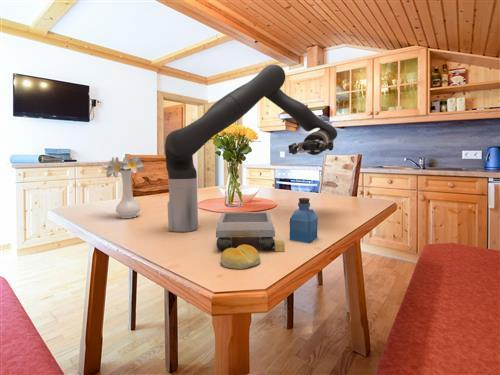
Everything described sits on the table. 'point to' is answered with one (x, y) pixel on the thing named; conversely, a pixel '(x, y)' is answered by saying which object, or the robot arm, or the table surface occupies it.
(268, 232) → the trolley
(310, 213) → the perfume bottle
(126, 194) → the flower vase
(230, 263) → the bread roll
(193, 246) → the table surface
